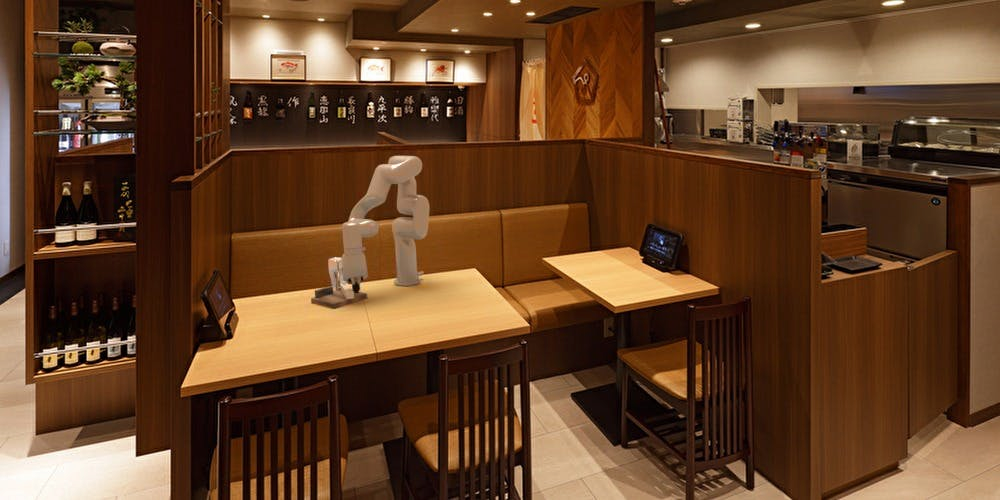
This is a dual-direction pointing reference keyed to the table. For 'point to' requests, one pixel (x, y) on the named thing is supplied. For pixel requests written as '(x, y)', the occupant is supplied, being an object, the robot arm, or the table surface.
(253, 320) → the table surface
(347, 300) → the brown rectangular tray
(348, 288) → the hinged leg
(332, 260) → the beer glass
